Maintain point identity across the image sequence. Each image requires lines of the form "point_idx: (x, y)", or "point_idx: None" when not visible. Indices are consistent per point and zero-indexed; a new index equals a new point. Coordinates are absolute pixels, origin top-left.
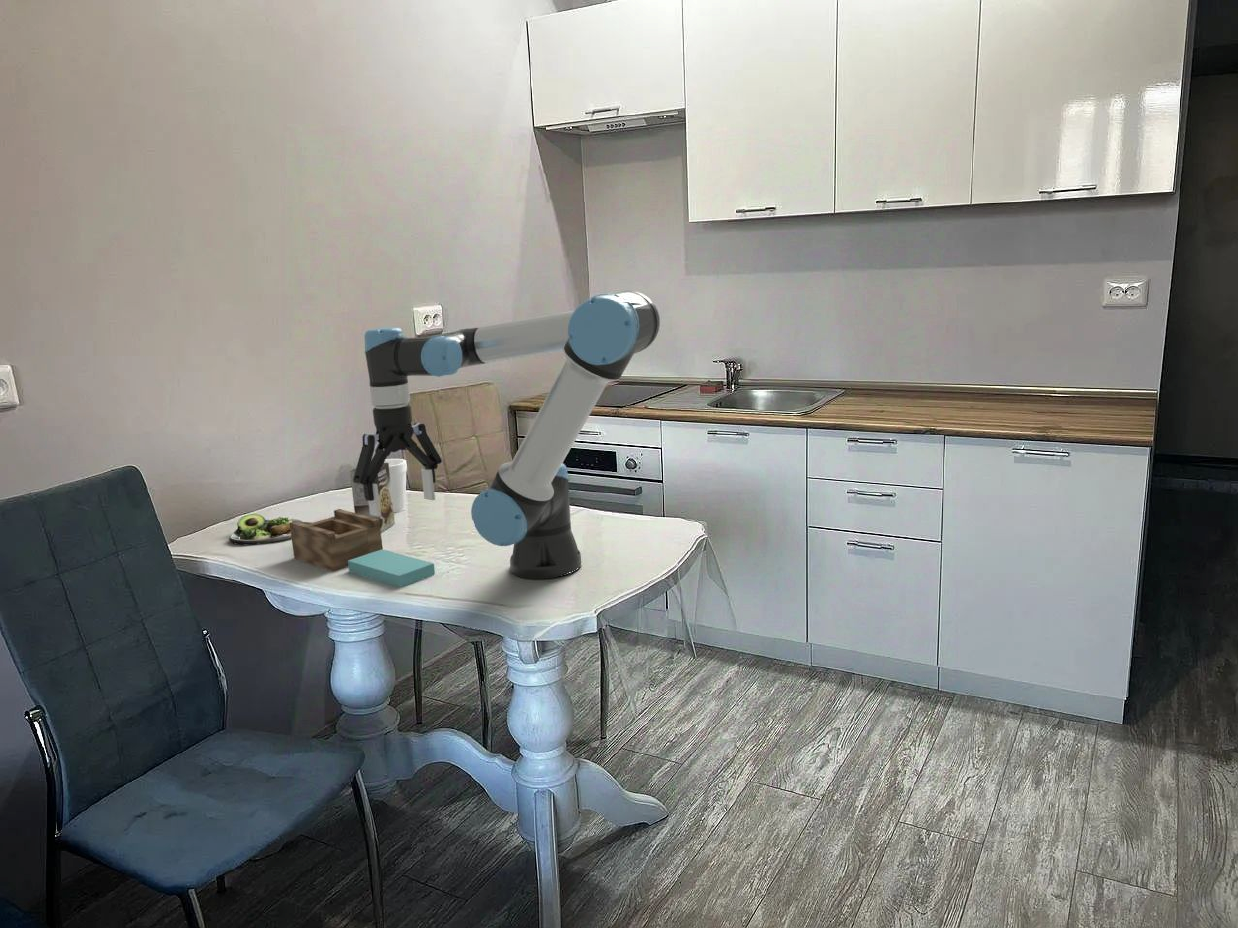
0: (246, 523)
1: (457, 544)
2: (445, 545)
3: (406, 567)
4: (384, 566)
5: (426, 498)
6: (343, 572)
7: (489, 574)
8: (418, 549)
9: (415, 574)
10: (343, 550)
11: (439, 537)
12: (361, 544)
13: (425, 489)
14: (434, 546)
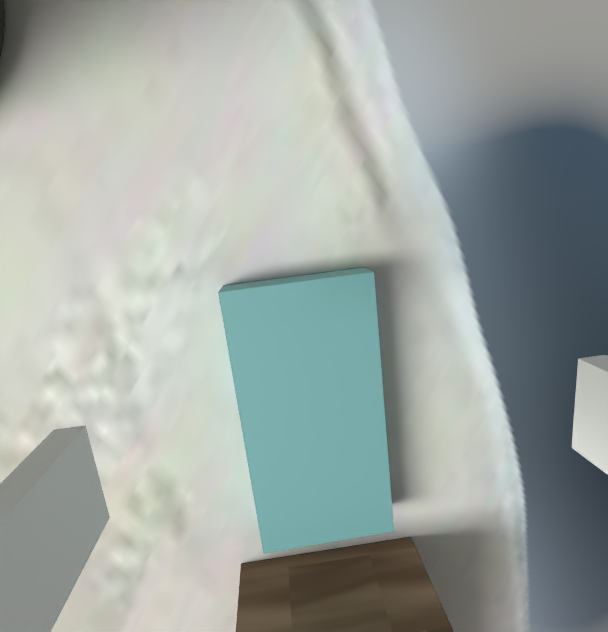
0: None
1: None
2: None
3: (309, 330)
4: (351, 398)
5: (100, 497)
6: (397, 510)
7: (78, 124)
8: (135, 535)
9: (303, 279)
10: (386, 588)
11: None
12: (317, 601)
13: (63, 560)
14: None
